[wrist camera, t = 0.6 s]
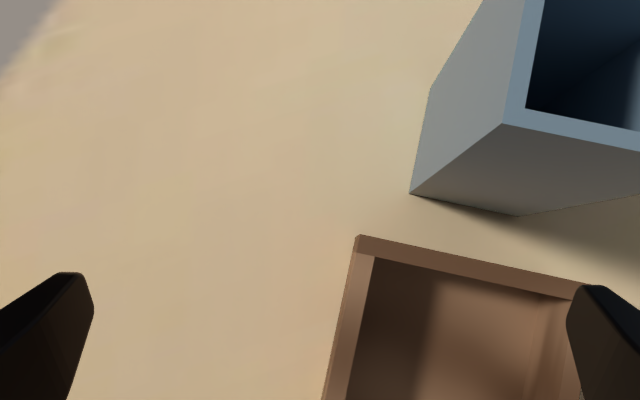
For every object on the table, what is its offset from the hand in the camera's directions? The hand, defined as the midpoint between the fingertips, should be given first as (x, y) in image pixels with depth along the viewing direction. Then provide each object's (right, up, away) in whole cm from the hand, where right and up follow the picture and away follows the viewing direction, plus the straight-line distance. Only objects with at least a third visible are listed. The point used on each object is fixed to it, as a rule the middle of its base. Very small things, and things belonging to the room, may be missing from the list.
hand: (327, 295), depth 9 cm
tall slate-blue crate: (+7, +4, +14) cm, 16 cm away
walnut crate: (+5, -5, +13) cm, 15 cm away
